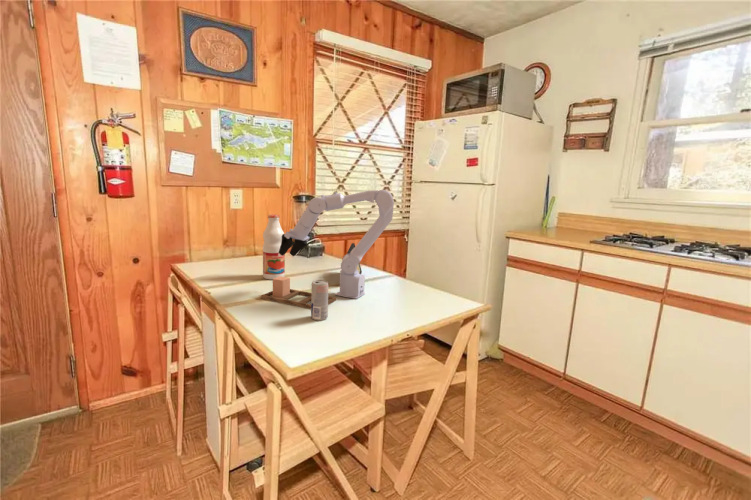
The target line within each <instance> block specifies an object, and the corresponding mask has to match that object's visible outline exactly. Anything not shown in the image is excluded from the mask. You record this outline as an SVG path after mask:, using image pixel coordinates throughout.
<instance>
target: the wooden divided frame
mask: <svg viewBox="0 0 751 500" xmlns="http://www.w3.org/2000/svg"><path fill="white" fill-rule="evenodd" d="M260 295H261V294H260ZM262 298H263V300H268V301H271V302H278V303H282V304H286V305H287V304H288V305H293V306H297V307H301V308H306V309H311V291H310V292H309V291H304V290H298V289H292V288H290V294H288V295H286V296H283V297H281V298H277V297H273V290H272V291H269V292H267V293H264V294H262V295H261V299H262ZM336 301H337V297H336V296H331V295H328V306H330V305H331V304H333V303H334V302H336Z"/></svg>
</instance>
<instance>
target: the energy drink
mask: <svg viewBox="0 0 751 500" xmlns="http://www.w3.org/2000/svg"><path fill="white" fill-rule="evenodd" d="M310 293H311V301H310V304H311V308H310V318H311V319H312V320H314V321H317V322H318V321H319V322H320V321H325V320H327V319H328V318H329V317H328V316H329V313H328V312H329V305H328V296H329V281H327V280H321V279H318V280H313V281H312V282H311V291H310Z"/></svg>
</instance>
